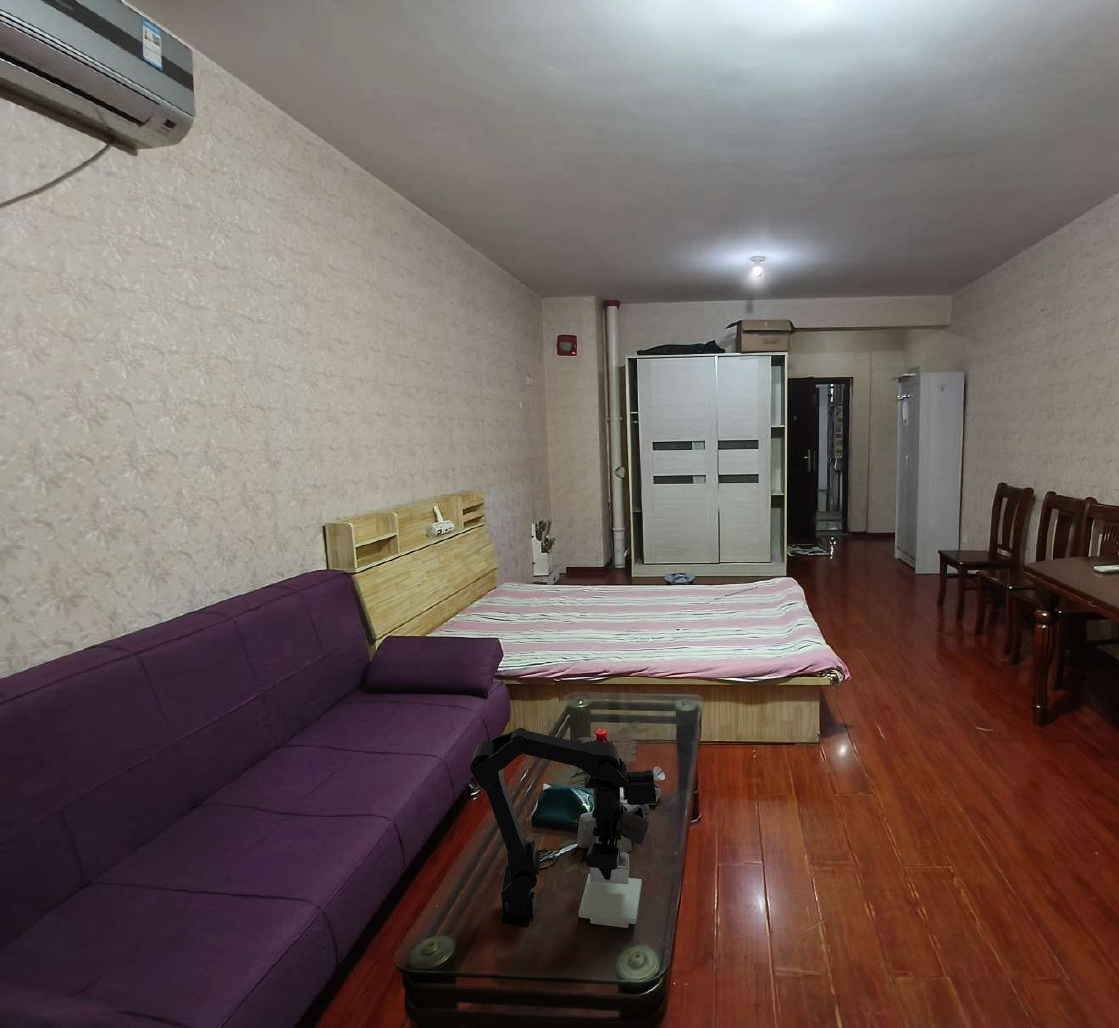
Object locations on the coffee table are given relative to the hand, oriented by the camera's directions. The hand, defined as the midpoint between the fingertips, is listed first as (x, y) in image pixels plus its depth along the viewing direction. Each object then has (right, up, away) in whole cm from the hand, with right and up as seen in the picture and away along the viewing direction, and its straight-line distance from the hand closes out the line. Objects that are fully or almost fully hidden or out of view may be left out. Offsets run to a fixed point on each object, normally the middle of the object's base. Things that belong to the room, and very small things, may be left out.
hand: (609, 871), depth 142 cm
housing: (0, -1, 0) cm, 1 cm away
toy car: (+10, -4, +44) cm, 45 cm away
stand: (+1, -10, +1) cm, 10 cm away
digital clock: (+2, -7, +24) cm, 25 cm away
